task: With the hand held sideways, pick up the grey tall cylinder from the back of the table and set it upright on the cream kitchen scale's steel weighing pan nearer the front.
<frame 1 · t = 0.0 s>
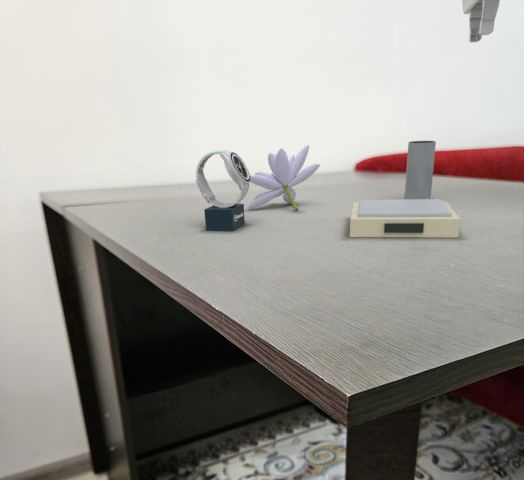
hand: (479, 38, 83), 25 cm above the table, tool pointing down, fingers open, 8 cm apart
scale: (400, 227, 76), on the table
grey tall cylinder: (416, 203, 95), on the table
water lily: (282, 208, 95), on the table
watch: (226, 228, 80), on the table
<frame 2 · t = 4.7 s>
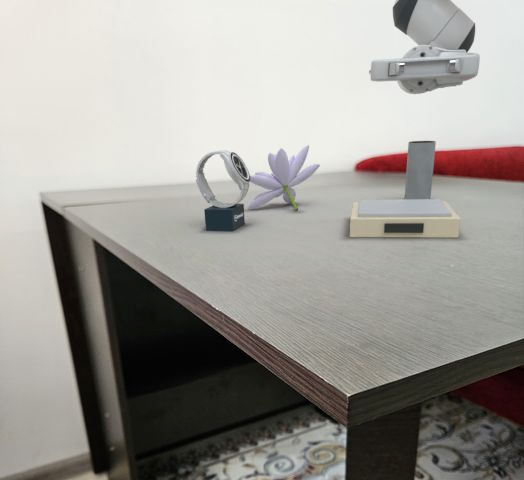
hand: (426, 66, 96), 23 cm above the table, tool horizontal, fingers open, 8 cm apart
nothing on the table moved.
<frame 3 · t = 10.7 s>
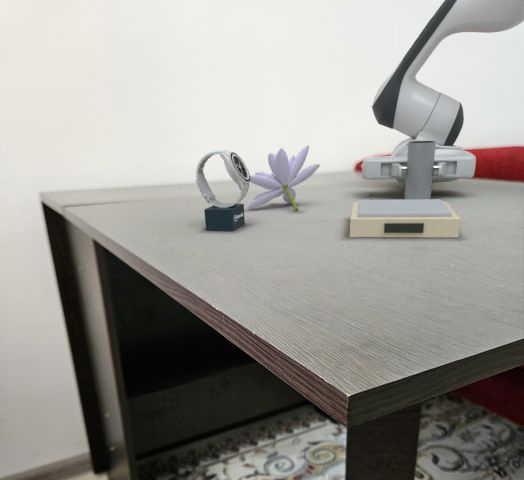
hand: (420, 171, 91), 6 cm above the table, tool horizontal, fingers closed on grey tall cylinder, 4 cm apart
grey tall cylinder: (416, 203, 95), on the table, touching gripper
everything else where it was.
when the fingers open (8 cm above the table, at t = 19.3 s): grey tall cylinder stays where it is, resting on scale.
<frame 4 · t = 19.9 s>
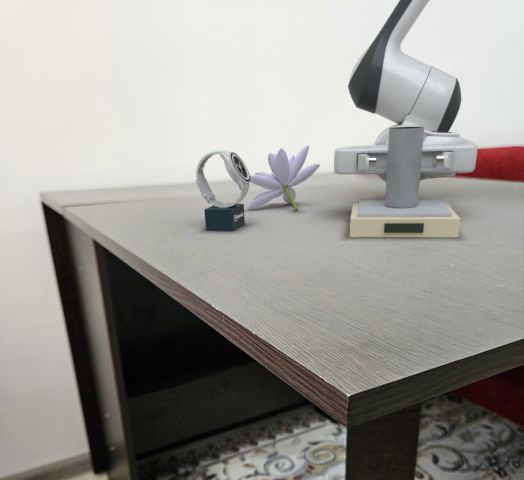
hand: (405, 163, 71), 9 cm above the table, tool horizontal, fingers open, 8 cm apart
grey tall cylinder: (401, 207, 75), point 3 cm above the table, touching scale
everything else where it was.
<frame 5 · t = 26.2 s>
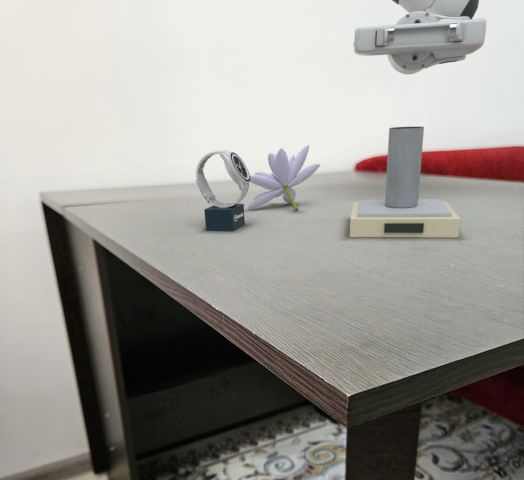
hand: (421, 32, 78), 26 cm above the table, tool horizontal, fingers open, 8 cm apart
nothing on the table moved.
at the end: grey tall cylinder inside the target area on the scale (0.1 cm from its centre), point 2.8 cm above the scale's base; grey tall cylinder tilted 0°; the gripper is holding nothing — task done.
